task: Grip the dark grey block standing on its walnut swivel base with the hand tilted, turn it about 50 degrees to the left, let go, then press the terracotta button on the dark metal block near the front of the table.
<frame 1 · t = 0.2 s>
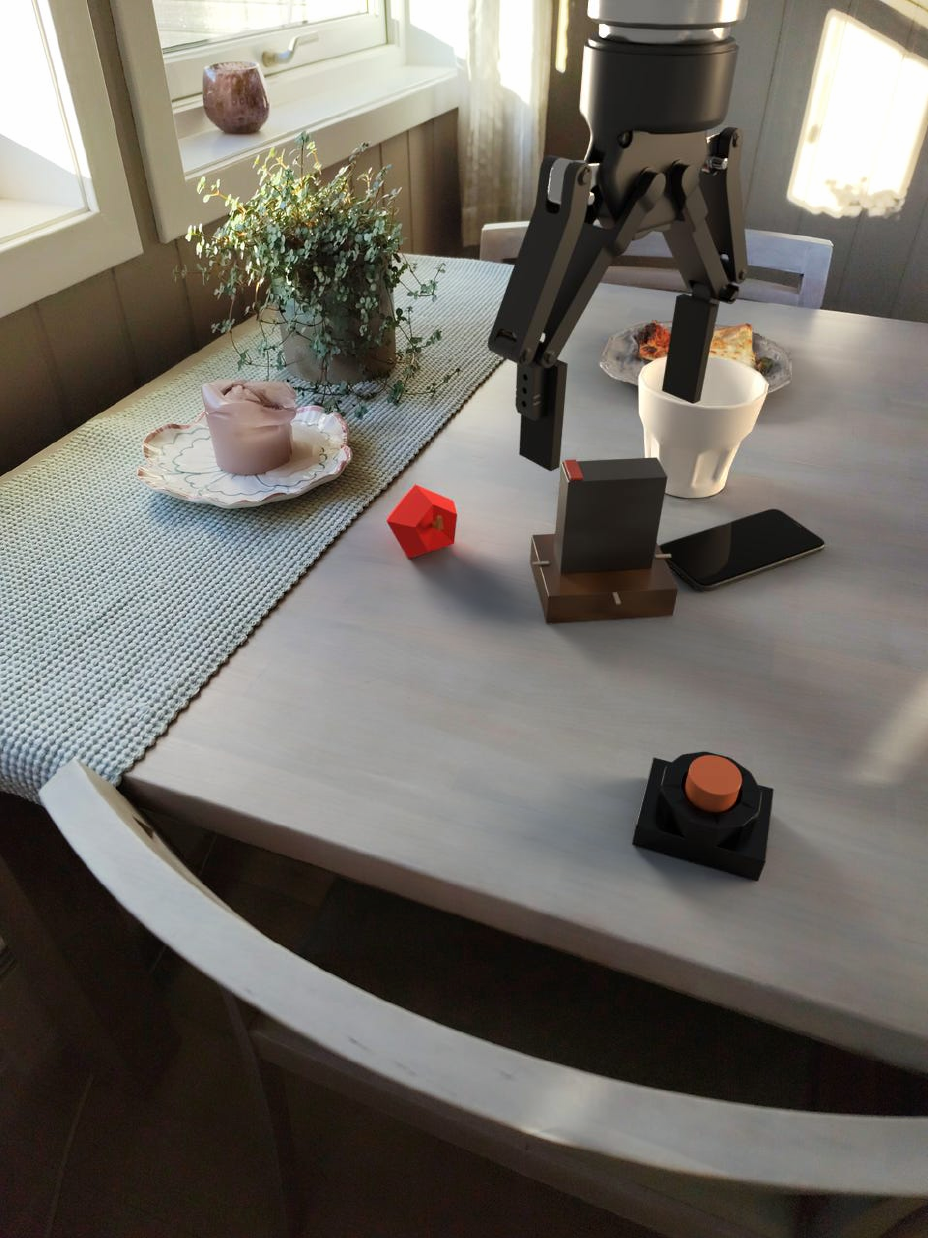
hand: (614, 426, 56), 21 cm above the table, tool pointing down, fingers open, 13 cm apart
swivel base: (598, 587, 77), on the table
smartphone: (739, 553, 81), on the table
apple: (423, 549, 82), on the table
dark grey block: (607, 515, 72), point 8 cm above the table, hinge at 0.0°
button: (712, 783, 54), point 4 cm above the table, slide at 0.1 cm
food plate: (693, 373, 112), on the table
cup: (684, 479, 92), on the table
button block: (700, 827, 57), on the table
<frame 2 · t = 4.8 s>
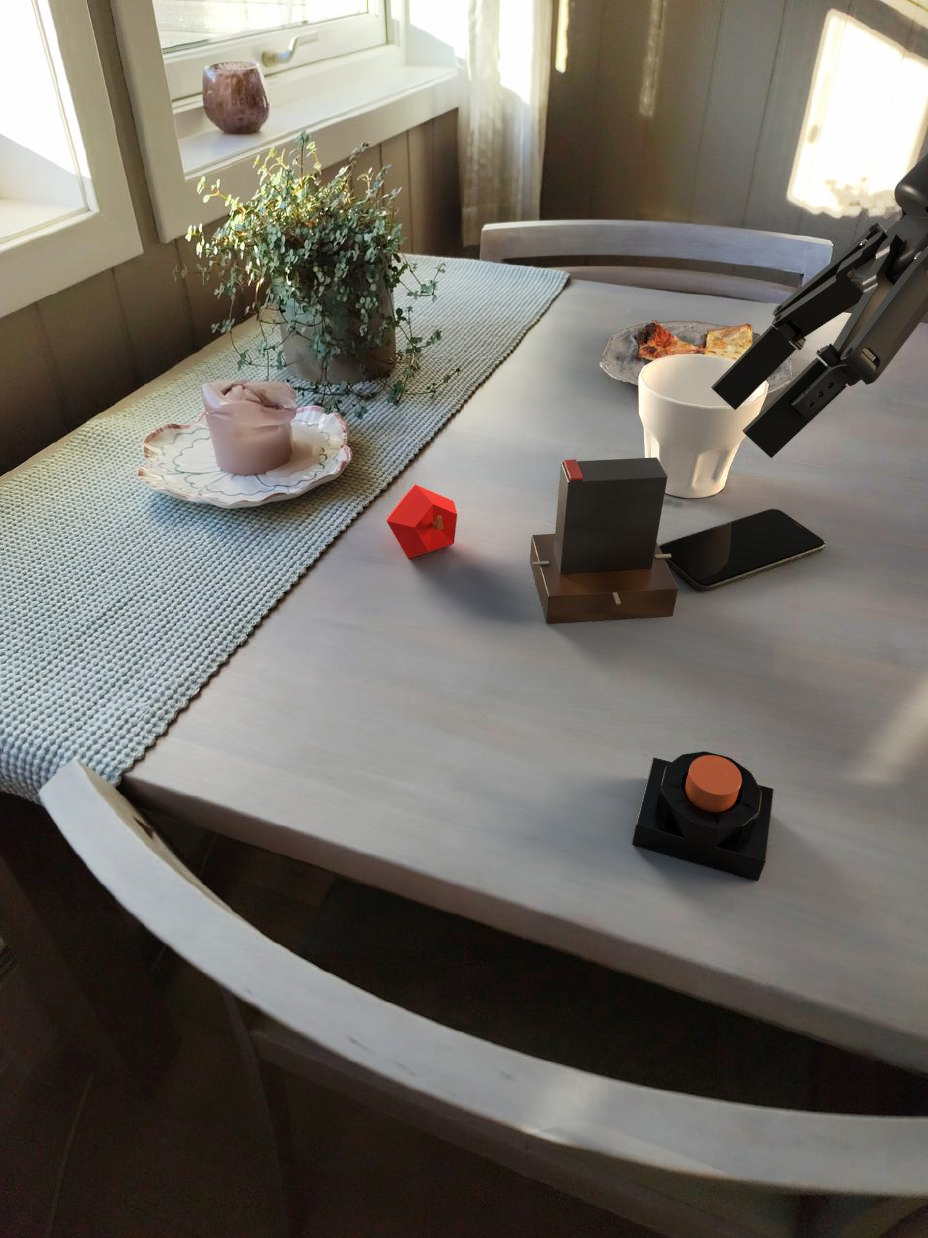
hand: (737, 420, 66), 17 cm above the table, tool tilted 40°, fingers open, 13 cm apart
nothing on the table moved.
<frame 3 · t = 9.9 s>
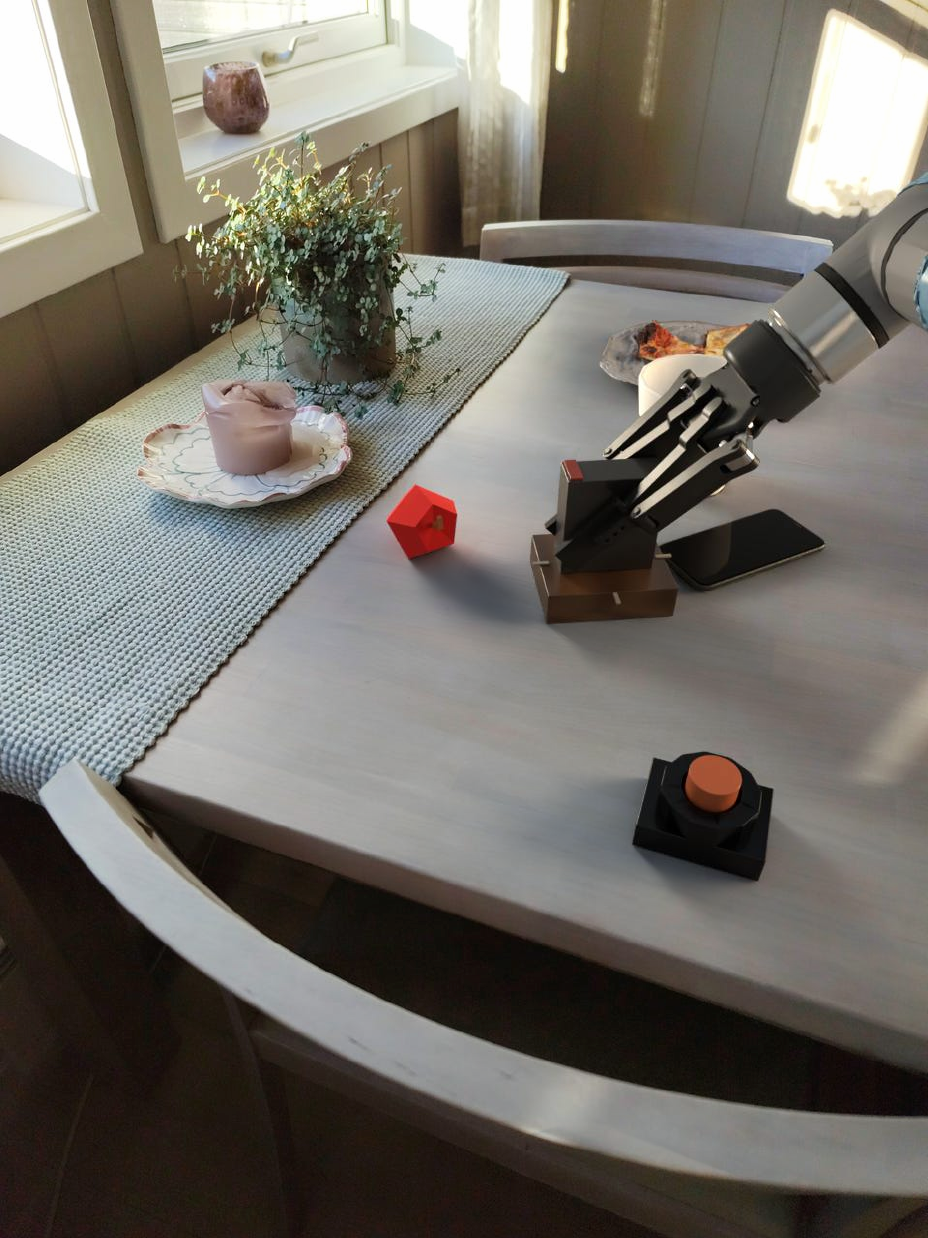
hand: (559, 547, 74), 5 cm above the table, tool tilted 45°, fingers closed on dark grey block, 3 cm apart
dark grey block: (607, 515, 72), point 8 cm above the table, hinge at 0.4°, touching gripper
everything else where it was.
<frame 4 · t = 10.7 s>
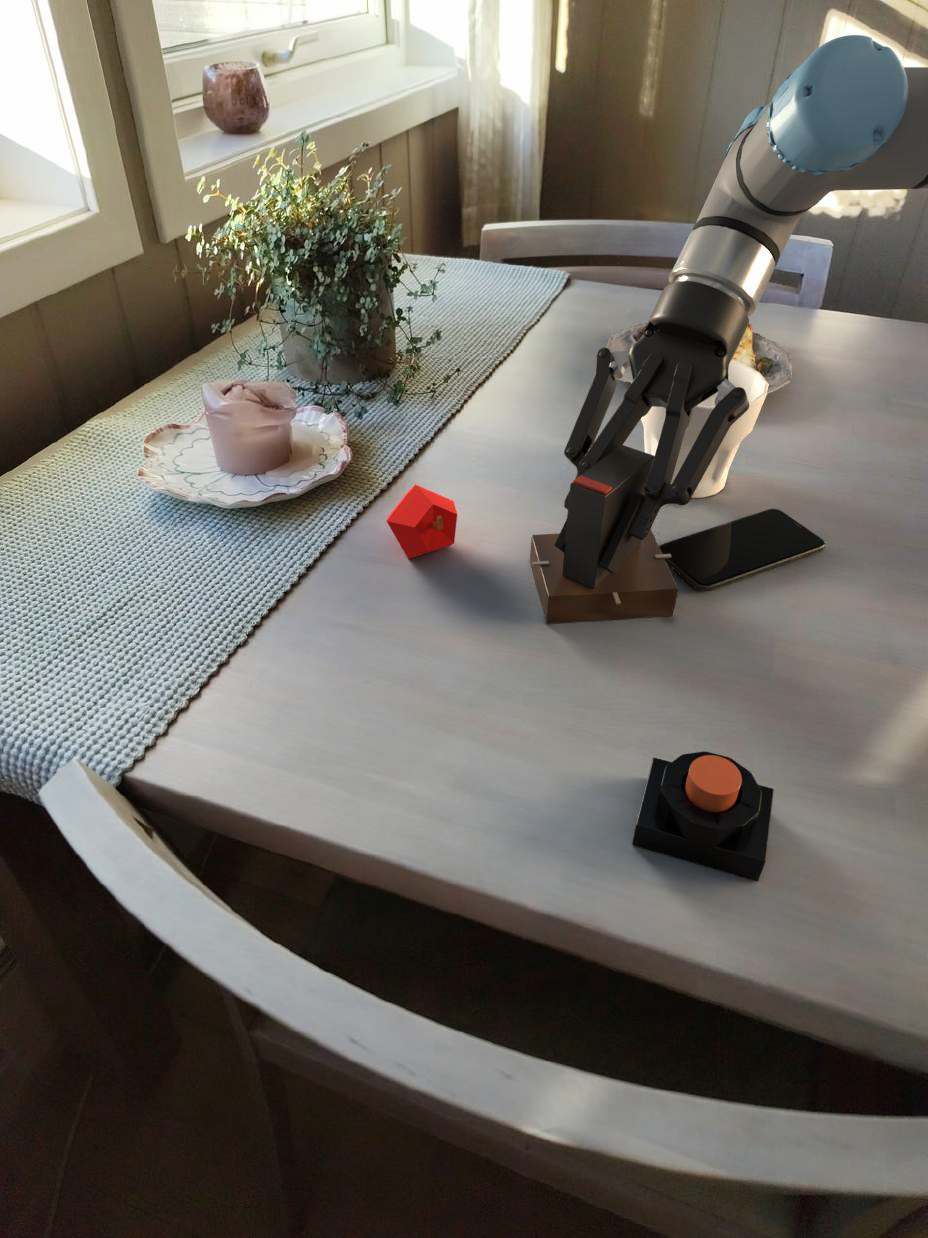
hand: (585, 559, 72), 5 cm above the table, tool tilted 45°, fingers closed on dark grey block, 4 cm apart
dark grey block: (607, 515, 72), point 8 cm above the table, hinge at 46.9°, touching gripper
everything else where it was.
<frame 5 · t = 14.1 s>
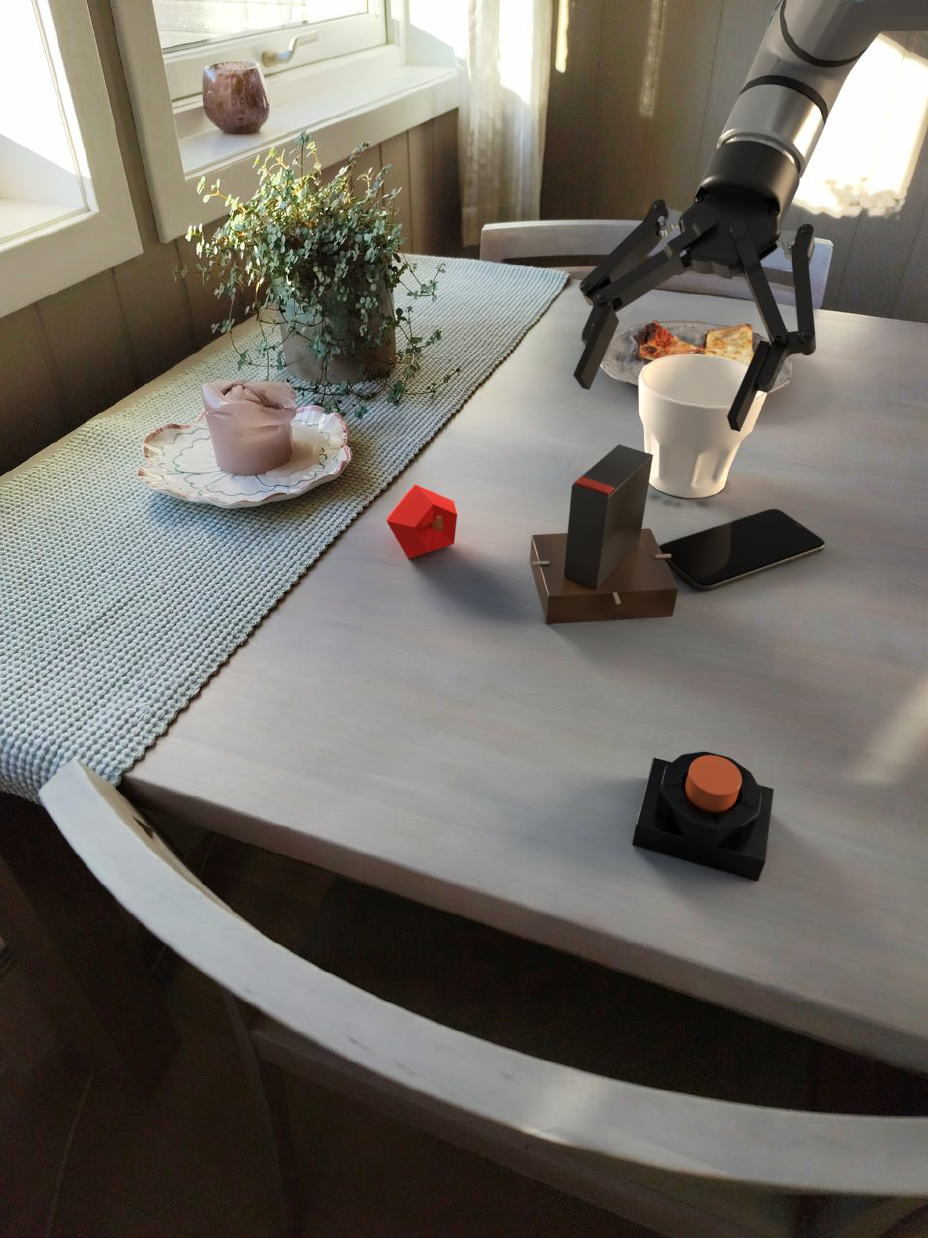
hand: (654, 403, 71), 15 cm above the table, tool tilted 45°, fingers open, 13 cm apart
dark grey block: (607, 515, 72), point 8 cm above the table, hinge at 49.6°
everything else where it was.
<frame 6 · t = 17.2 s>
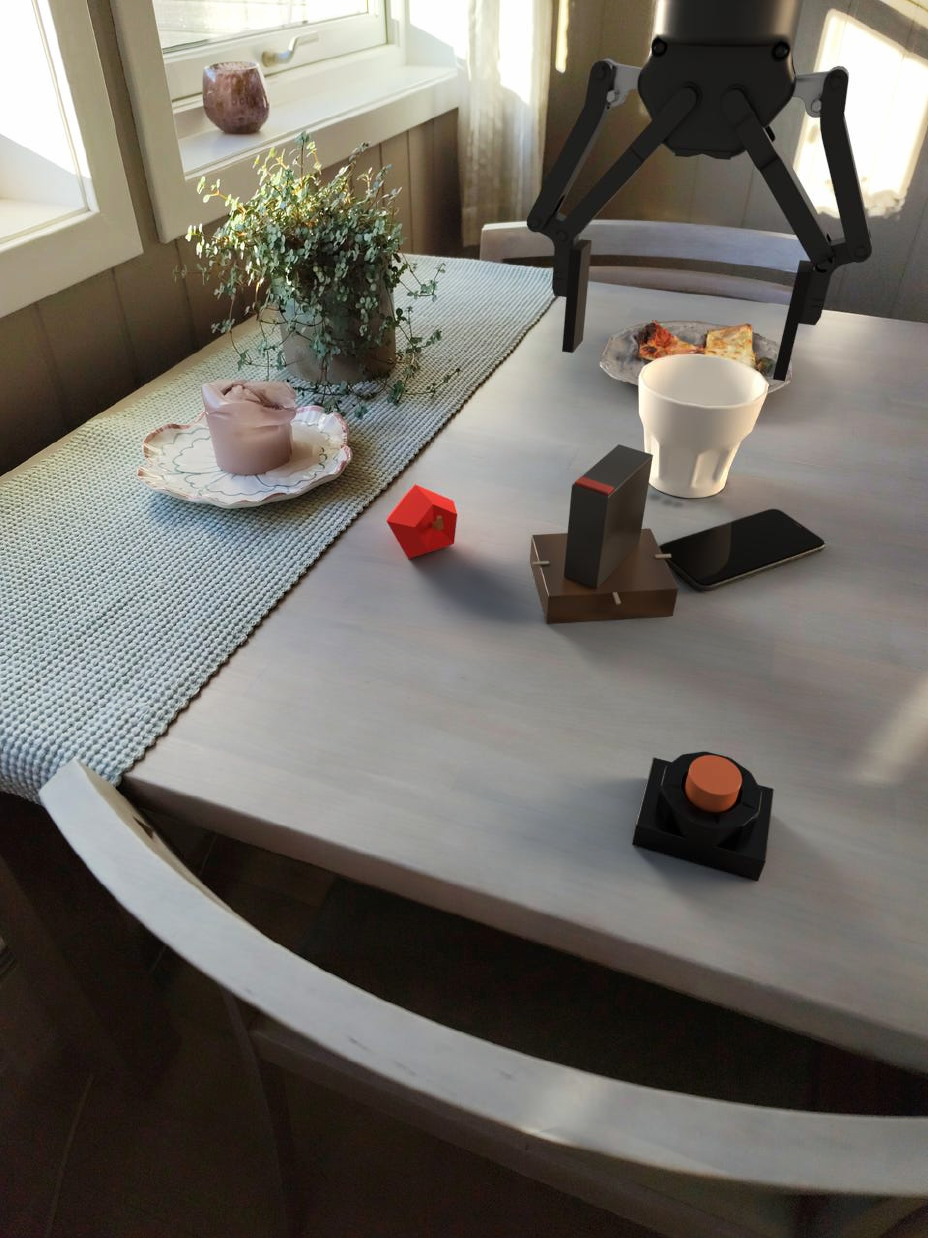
hand: (672, 359, 57), 24 cm above the table, tool pointing down, fingers open, 13 cm apart
nothing on the table moved.
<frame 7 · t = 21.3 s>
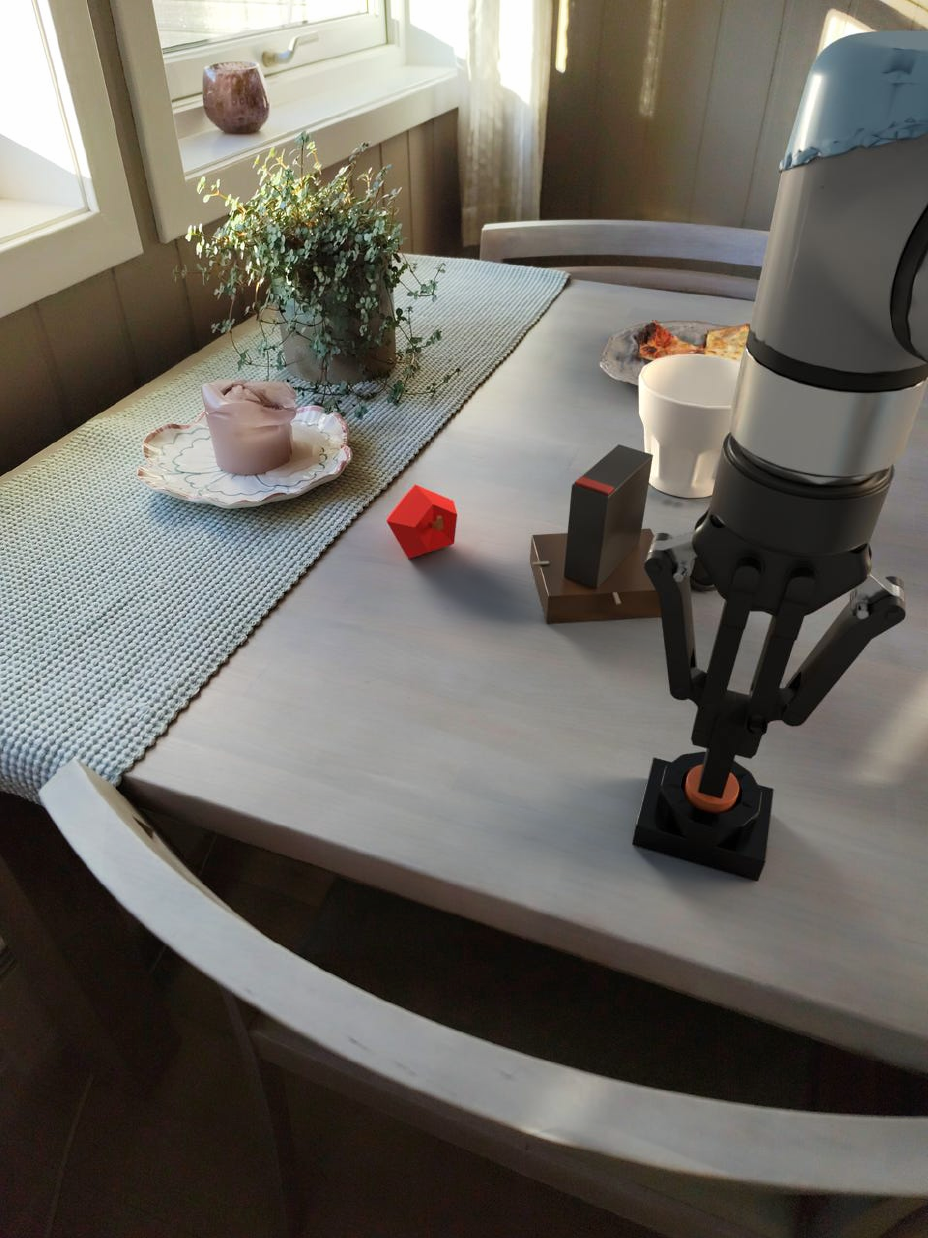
hand: (712, 779, 54), 5 cm above the table, tool pointing down, fingers closed
button: (710, 792, 55), point 4 cm above the table, slide at -0.7 cm, touching gripper
everything else where it was.
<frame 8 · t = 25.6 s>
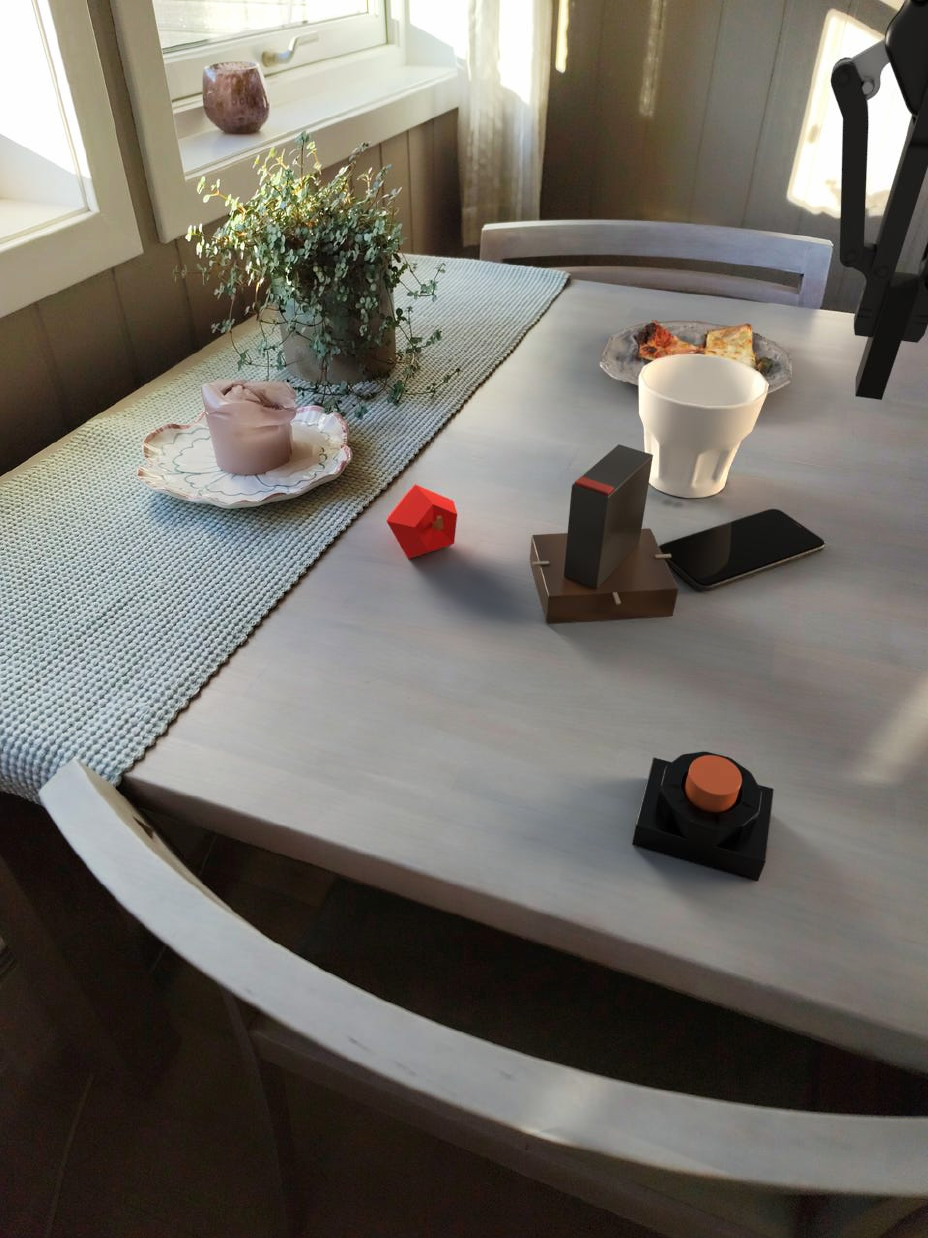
hand: (868, 388, 53), 24 cm above the table, tool pointing down, fingers closed
button: (712, 783, 54), point 4 cm above the table, slide at 0.1 cm
everything else where it was.
at the end: dark grey block at +50° (first picture: +0°); button pushed in 1.0 cm at the most during the clip, back to where it started at the end; button slide at 0.1 cm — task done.
